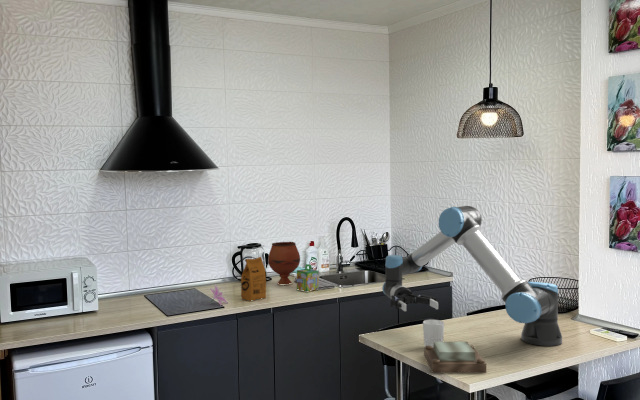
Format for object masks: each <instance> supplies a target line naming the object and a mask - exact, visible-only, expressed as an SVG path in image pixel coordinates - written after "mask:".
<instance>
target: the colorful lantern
mask: <svg viewBox="0 0 640 400" xmlns="http://www.w3.org/2000/svg"><path fill="white" fill-rule="evenodd" d="M316 288H318V289H319V270H317V269H312V264H307V263H305V266H304V269H296V290H297V289H299V290H304V291H310V290H315V289H316ZM299 290H298V291H299Z"/></svg>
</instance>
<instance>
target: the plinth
mask: <svg viewBox="0 0 640 400" xmlns="http://www.w3.org/2000/svg"><path fill="white" fill-rule="evenodd" d="M423 356H424V358H425V360H427V361H426V362H428V363H427V364H428V367H429V368H430V371H431V373H433V374H435V373H441V374H442V373H444V374H445V373H448V374H449V373H452V374H453V373H455V374H456V373H457V374H458V373H460V374H461V373H462V374H463V373H472V374H473V373H474V374H475V373H482V374H483V373H487V362H486V361H485V359H484V358H483V357H482V355H480V353H479V352H478V351H477V349H475V346H474V345H471V344H470V343H469V342H468V341H443V342H434V347H432V346H425V345H424V346H423Z"/></svg>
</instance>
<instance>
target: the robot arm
mask: <svg viewBox="0 0 640 400" xmlns="http://www.w3.org/2000/svg"><path fill="white" fill-rule="evenodd" d="M482 221H483V220H482V214H481V213H480V211H479V210H478V209H477V208H476V207H473V206H471V205H463V206H462V205H461V206H451V207H448V208H446V209H444V210H443V211H442V212H441V213H440V215H439V217H438V222H437V223H438V227H439V230H440V231H439V232H438V233H436V234H435V235H434V236H433V237H432V238H430V239H429V240H428V241H426V242H425V243H424V244H422V245H421V246H420V247H418V248H417V249H416V250H414V251H413V252H412V253H410V254H409V255H408V256H405V257H403V256H402V255H399V254H391V255H390V254H389V255H387V256H386V257H385V281H384V282H383V284H382V287H381V289H382V292H383V294H384V295H385V296H386V297H387V298H389V299H390V307H391V308H395V309H396V310H398V309H401V310H402V311H403V312H407V306H408V305H410V304H425V305H429V306H430V307H431V308H434V309H435V310H439V302H438V300H437V299H438V298H437V297H434V296H429V295H424V294H421V293H419V294H414V293H413V292H412V290H411V289H409V288H408V287H406V286H405V285H403V276H404V275H408V274H415V273H418V272H419V271H421V270H422V269H423V266H424V265H426V264H427V263H429V262H430V261H432V260H433V259H435V258H436V257H437V256H438V255H440V254H441V253H443V252H444V251H445V250H447V249H449V248H450V247H451V246H452V245H454V244H455V243H456V245H459V246H463V247H464V248H465V250H466V251H467V252H468V253H469V255H470V256H471V257H472V258H473V259H474V261H475V262H476V263H477V264H478V266H479V267H480V268H481V270H483V272H484V273H485V274H486V275H487V276H488V277H489V279H490V280H491V281H492V283H493V284H494V285H495V286H496V288H497V289H498V291H500V292H501V300H502V301H503V302H504V305H505V312H506V314H507V315H508V317H509V318H511V319H512V320H513V321H515V322H516V323H519V324H524V325H523V328H522V331H521V333H520V334H521V335H520V337H521V338H520V339H521V341H522V342H524V343H527V344H530V345H534V346H540V347H541V346H542V347H544V346H545V347H549V346H550V347H553V346H560V345H561V344H563V336H562V332H561V328H560V326H559V321H558V318H559V317H558V315H559V312H558V311H559V310H558V309H559V305H558V303H559V289H558V285H556V284H554V283H550V282H548V283H547V282H540V281H528V280H526V279H521V278H520V277H519V276H518V275H517V274H516V273H515V272H514V270H512V268H511V267H510V265H508V263H507V262H506V261H505V260H504V259H503V257H502V256H501V255H500V254H499V252H498V251H497V250H496V249H495V248H494V247H493V245H492V244H491V243H490V242H489V241H488V240H487V239H486V237H485V236H484V235H483V234H482V233H481V225H482Z"/></svg>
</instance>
